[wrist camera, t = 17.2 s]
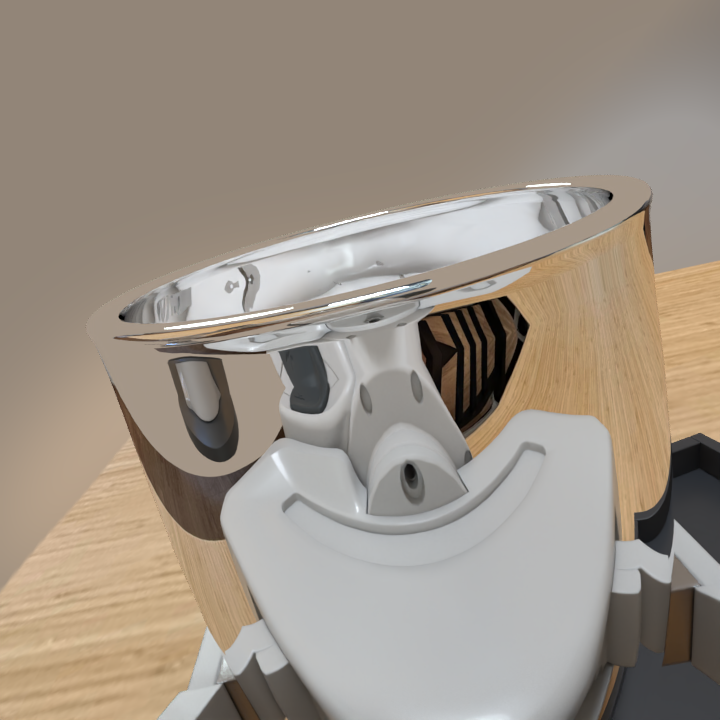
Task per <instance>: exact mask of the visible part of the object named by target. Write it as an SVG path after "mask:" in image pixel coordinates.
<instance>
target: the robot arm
mask: <svg viewBox="0 0 720 720" xmlns="http://www.w3.org/2000/svg"><path fill="white" fill-rule="evenodd" d="M674 538H675V541H674V560H673V575H672V589H671V604H670V618H669V631H668V639H667V645H666V650H665V654H664V659H663V663H662V667H663V666H670V665H676V664H682V663H688V662H691V665H692V666H694V667H695V668H697V669H698V670H699V671H701V672H702V673H704V674H705V675H706V676H708V677H709V678H711V679H712V680H713V681H715V682H716V683H718V684H719V685H720V564H719V563H718V562H717V561H716V560H715V559H714V558H713V557H712V556H711V555H710V554H709V553H708V552H707V551H706V550H705V549H704V548H703V547H702V546H701V545H700V544H699V543H698V542H697V541H696V540H695V539H694V538H693V537H692V536H691V535H690V534H689V533H688V532H687V531H686V530H685V529H684V528H683V527H682V526H681V525H680V524H679V523H678V522H677V521H676V520H675V519H674ZM157 720H259V719H258V717H257V715H256V714H255V712H254V711H253V709H252V707H251V705H250V703H249V702H248V700H247V698H246V696H245V695H244V693H243V691H242V689H241V688H240V686H239V684H238V682H237V681H236V679H235V677H234V675H233V673H232V672H231V670H230V668H229V666H228V665H227V663H226V661H225V659H224V658H223V656H222V654H221V652H220V651H219V649H218V647H217V645H216V643H215V641H214V640H213V638H212V636H211V633H210V631H209V629H208V627H206V630H205V633H204V637H203V640H202V643H201V646H200V650H199V653H198V656H197V660H196V663H195V666H194V669H193V673H192V676H191V679H190V683H189V686H188V689H187V690H186V691H182V692H179V693H178V695H177V696H176V697H175V698H174V699H173V701H172V702H171V703H170V704H169V705H168V707H167V708H166V709H165V710H164V711H163V713H162V714H161V715H160V716H159V717H158V719H157Z"/></svg>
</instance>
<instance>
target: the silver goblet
mask: <svg viewBox="0 0 720 720" xmlns="http://www.w3.org/2000/svg"><path fill="white" fill-rule="evenodd" d="M652 195H653V193H652V191H651V188H650V186H649V185H648V184H647V183H646V182H644V181H642V180H639V179H636V178H633V177H628V176H619V175H591V176H575V177H564V178H554V179H545V180H537V181H529V182H522V183H515V184H509V185H502V186H496V187H490V188H484V189H480V190H473V191H468V192H463V193H457V194H452V195H447V196H442V197H438V198H432V199H428V200H423V201H418V202H414V203H409V204H405V205H400V206H396V207H391V208H388V209H383V210H378V211H374V212H370V213H366V214H362V215H358V216H354V217H350V218H346V219H342V220H338V221H334V222H330V223H327V224H323V225H319V226H315V227H312V228H308V229H304V230H301V231H297V232H294V233H290V234H287V235H283V236H280V237H276V238H273V239H269V240H266V241H263V242H259V243H256V244H253V245H250V246H246V247H244V248H240V249H237V250H234V251H231V252H228V253H225V254H222V255H219V256H216V257H213V258H210V259H207V260H204V261H201V262H199V263H196V264H193V265H190V266H187V267H185V268H182V269H179V270H176V271H174V272H171V273H169V274H166V275H164V276H161V277H159V278H156V279H154V280H152V281H149V282H147V283H145V284H143V285H140V286H138V287H136V288H134V289H131V290H129V291H127V292H126V293H123V294H121V295H119V296H118V297H116V298H114V299H112V300H111V301H109V302H107V303H106V304H104V305H103V306H101V307H100V308H99V309H98V310H96V311H95V312H94V313H93V314H92V315H91V316H90V318H89V319H88V321H87V325H86V330H87V334H88V336H89V337H90V339H91V340H92V341H93V343H94V344H95V346H96V348H97V350H98V352H99V355H100V357H101V359H102V362H103V364H104V366H105V368H106V371H107V373H108V376H109V378H110V381H111V384H112V386H113V389H114V391H115V394H116V397H117V399H118V402H119V404H120V407H121V410H122V412H123V415H124V417H125V421H126V423H127V426H128V429H129V432H130V435H131V437H132V440H133V443H134V446H135V449H136V452H137V454H138V457H139V460H140V463H141V466H142V468H143V471H144V474H145V477H146V480H147V482H148V485H149V488H150V490H151V493H152V495H153V498H154V501H155V503H156V506H157V508H158V511H159V514H160V516H161V519H162V521H163V524H164V527H165V529H166V532H167V534H168V537H169V540H170V542H171V545H172V547H173V550H174V553H175V555H176V558H177V560H178V562H179V564H180V567H181V569H182V571H183V573H184V575H185V578H186V580H187V582H188V584H189V587H190V589H191V591H192V593H193V595H194V598H195V600H196V602H197V604H198V607H199V609H200V611H201V613H202V616H203V618H204V620H205V622H206V624H207V627H208V629H209V631H210V633H211V636H212V638H213V640H214V641H215V643H216V645H217V647H218V649H219V651H220V652H221V654H222V656H223V658H224V659H225V661H226V663H227V665H228V666H229V668H230V670H231V672H232V673H233V675H234V677H235V679H236V681H237V682H238V684H239V686H240V688H241V689H242V691H243V693H244V695H245V696H246V698H247V700H248V702H249V703H250V705H251V707H252V709H253V711H254V712H255V714H256V715H257V717H258V719H259V720H649V717H650V713H651V709H652V705H653V701H654V697H655V692H656V688H657V684H658V680H659V675H660V671H661V667H662V663H663V659H664V654H665V650H666V645H667V639H668V631H669V618H670V604H671V589H672V575H673V560H674V541H675V538H674V501H673V465H672V444H671V433H670V421H669V410H668V398H667V387H666V375H665V364H664V355H663V347H662V338H661V330H660V321H659V313H658V304H657V296H656V287H655V276H654V266H653V255H652V243H651V222H650V209H651V202H652Z"/></svg>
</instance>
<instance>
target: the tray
mask: <svg viewBox="0 0 720 720" xmlns="http://www.w3.org/2000/svg"><path fill="white" fill-rule="evenodd" d="M671 444H672V465H673V501H674V519H675V520H676V521H677V522H678V523H679V524H680V525H681V526H682V527H683V528H684V529H685V530H686V531H687V532H688V533H689V534H690V535H691V536H692V537H693V538H694V539H695V540H696V541H697V542H698V543H699V544H700V545H701V546H702V547H703V548H704V549H705V550H706V551H707V552H708V553H709V554H710V555H711V556H712V557H713V558H714V559H715V560H716V561H717V562H718V563H719V564H720V443H719V442H717V441H715V440H713V439H711V438H709V437H707V436H705V435H703V434H701V433H698V434H696V435H693V436H691V437H687V438H685V439H682V440H679V441H677V442H674V443H671ZM649 720H720V685H719V684H718V683H716V682H715V681H713V680H712V679H711V678H709V677H708V676H706V675H705V674H704V673H702V672H701V671H699V670H698V669H697V668H695V667H694V666H692V665H691V662H688V663H682V664H676V665H670V666H663V667H661V671H660V675H659V680H658V684H657V688H656V692H655V697H654V701H653V705H652V709H651V713H650V717H649Z"/></svg>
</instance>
